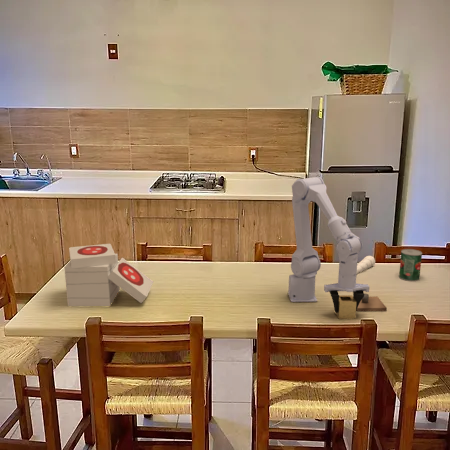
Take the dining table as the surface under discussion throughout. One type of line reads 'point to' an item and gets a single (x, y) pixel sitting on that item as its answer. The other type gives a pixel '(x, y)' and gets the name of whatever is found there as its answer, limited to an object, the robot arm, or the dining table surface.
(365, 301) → the post stand
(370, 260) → the unicorn horn
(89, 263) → the pizza boxes
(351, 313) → the brass collar
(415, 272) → the canned tomato
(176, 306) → the dining table surface
